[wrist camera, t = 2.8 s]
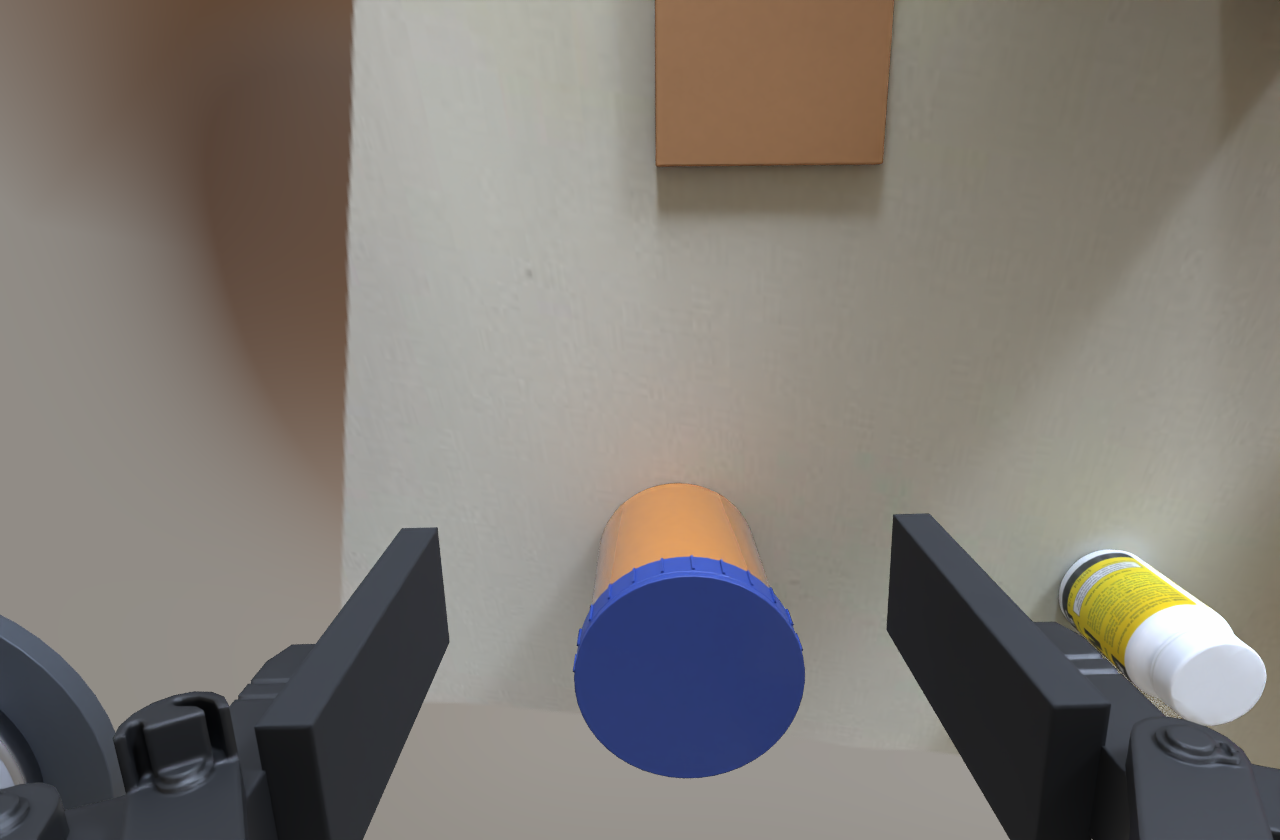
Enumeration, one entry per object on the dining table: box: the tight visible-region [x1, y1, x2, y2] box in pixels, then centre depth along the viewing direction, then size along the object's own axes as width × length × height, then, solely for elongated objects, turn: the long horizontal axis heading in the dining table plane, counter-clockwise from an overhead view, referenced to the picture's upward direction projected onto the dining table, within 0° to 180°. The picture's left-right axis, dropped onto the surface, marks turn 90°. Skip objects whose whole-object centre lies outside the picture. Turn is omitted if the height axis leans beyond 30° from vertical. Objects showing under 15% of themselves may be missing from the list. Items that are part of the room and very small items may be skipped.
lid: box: [573, 555, 805, 778], centre depth 30 cm, size 9×9×2 cm
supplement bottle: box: [1059, 550, 1266, 726], centre depth 36 cm, size 5×5×8 cm
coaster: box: [655, 0, 894, 167], centre depth 33 cm, size 10×10×1 cm
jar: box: [592, 483, 770, 605], centre depth 35 cm, size 8×8×10 cm
